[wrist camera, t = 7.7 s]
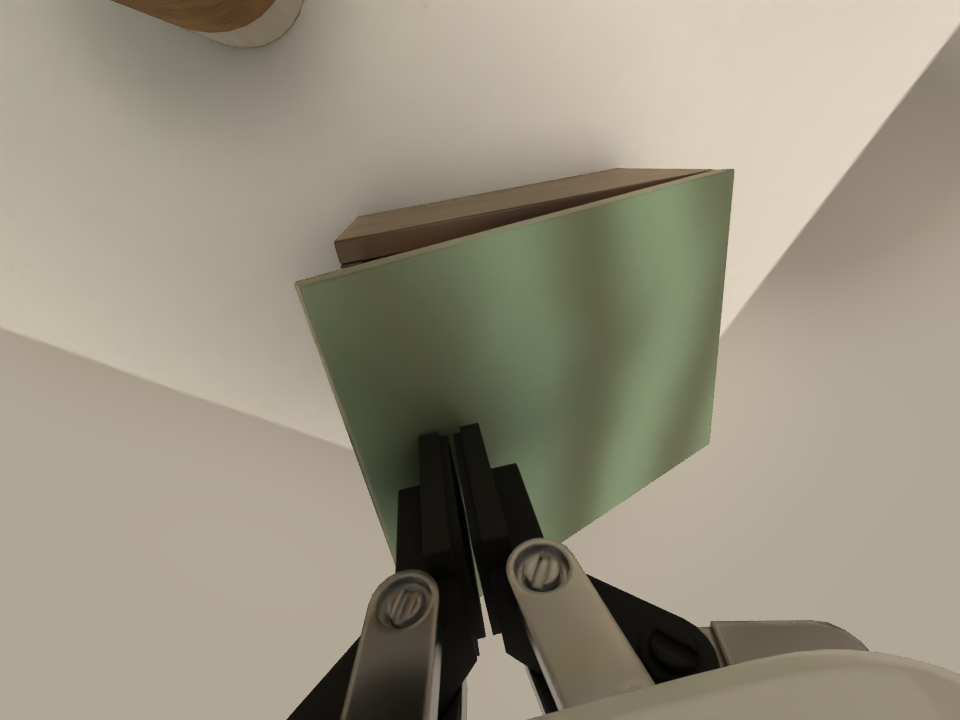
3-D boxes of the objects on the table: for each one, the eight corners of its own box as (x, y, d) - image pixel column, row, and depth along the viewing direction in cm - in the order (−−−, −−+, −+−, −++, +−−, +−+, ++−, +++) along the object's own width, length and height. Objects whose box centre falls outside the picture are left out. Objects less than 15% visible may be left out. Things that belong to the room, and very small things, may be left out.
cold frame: (410, 411, 26) (412, 501, 19) (357, 216, 21) (333, 241, 14) (621, 365, 27) (696, 434, 20) (617, 168, 22) (715, 168, 15)
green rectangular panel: (413, 616, 14) (423, 636, 14) (292, 281, 9) (298, 287, 9) (694, 435, 20) (710, 443, 19) (713, 169, 15) (735, 168, 14)
